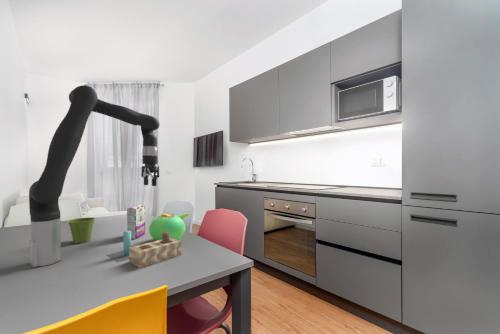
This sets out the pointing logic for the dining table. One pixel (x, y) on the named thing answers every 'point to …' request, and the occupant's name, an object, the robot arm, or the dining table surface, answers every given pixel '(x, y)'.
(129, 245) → the teal peg
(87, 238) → the plant pot
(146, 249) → the hole block
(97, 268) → the dining table surface
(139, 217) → the candy bar box
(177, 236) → the toy bird
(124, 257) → the mat
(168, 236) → the walnut peg
